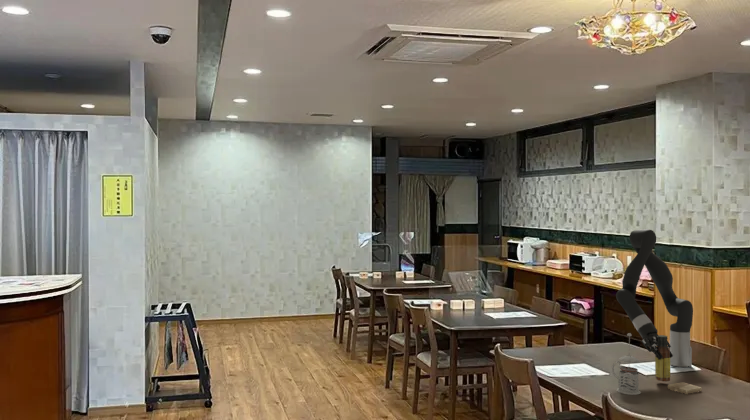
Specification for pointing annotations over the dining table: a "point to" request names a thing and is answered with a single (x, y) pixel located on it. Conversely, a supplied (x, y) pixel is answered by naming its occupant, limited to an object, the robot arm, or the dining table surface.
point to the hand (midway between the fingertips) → (666, 357)
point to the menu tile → (684, 387)
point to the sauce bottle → (662, 360)
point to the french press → (628, 375)
